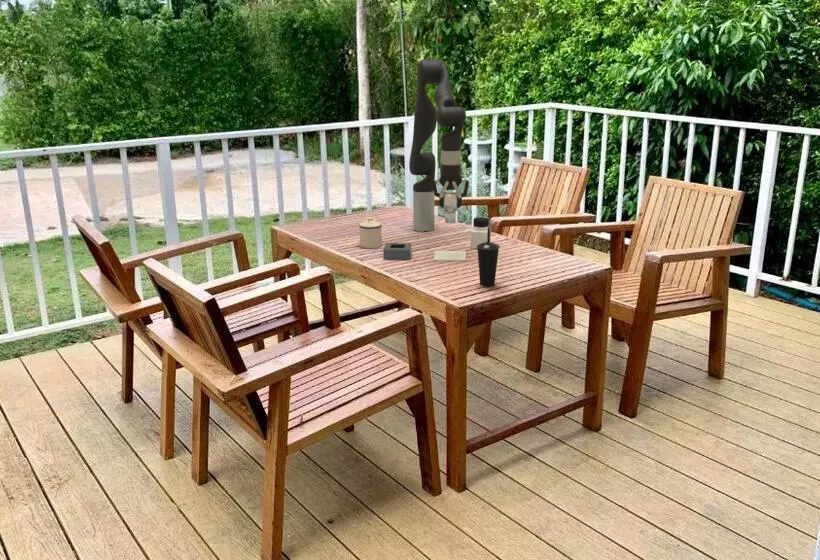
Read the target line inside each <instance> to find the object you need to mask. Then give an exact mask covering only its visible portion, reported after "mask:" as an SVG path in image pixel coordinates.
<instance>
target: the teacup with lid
mask: <svg viewBox="0 0 820 560" xmlns="http://www.w3.org/2000/svg"><path fill="white" fill-rule="evenodd" d="M358 227H359V244H360V247H361V248H363V249H378V248H380V247H382V242H383V241H382V240H383V237H382V227H383V225H382V223H381V222H380V221H377V220H375V219H374V218H373V217H370V216H369V217H367V219H365V220H364V221H362V222H360V223H359V226H358Z"/></svg>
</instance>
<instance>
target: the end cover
mask: <svg viewBox="0 0 820 560" xmlns="http://www.w3.org/2000/svg"><path fill="white" fill-rule="evenodd" d="M442 211H443V212H444V223H446V224H455V223H456V222H457V221H456V216H457V215H456V212H458V211H459V208H458V195H457V193H456V191H445V193H444V195H443V208H442Z"/></svg>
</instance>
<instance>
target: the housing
mask: <svg viewBox="0 0 820 560" xmlns="http://www.w3.org/2000/svg"><path fill="white" fill-rule="evenodd" d="M382 252H383V255H382V256H383V261H410V260H411V257H412V253H413V252H412V242H385V244H384V247H383V250H382ZM385 259H386V260H385Z"/></svg>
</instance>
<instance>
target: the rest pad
mask: <svg viewBox="0 0 820 560" xmlns="http://www.w3.org/2000/svg"><path fill="white" fill-rule="evenodd" d="M466 254H467V252H466V250H456V251H455V250H434V254H433V255H434V256H433V261H434V262H466V261H467V259H466V258H467V255H466Z"/></svg>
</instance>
